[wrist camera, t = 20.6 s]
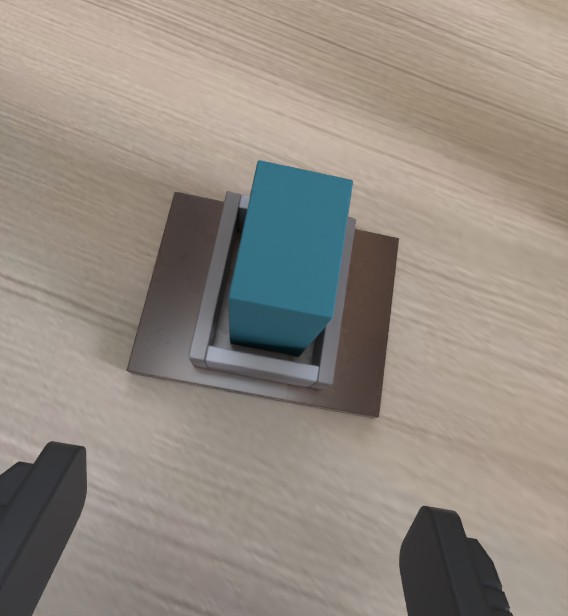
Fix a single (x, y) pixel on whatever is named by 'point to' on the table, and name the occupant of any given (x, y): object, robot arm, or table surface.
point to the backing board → (251, 361)
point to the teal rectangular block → (288, 258)
